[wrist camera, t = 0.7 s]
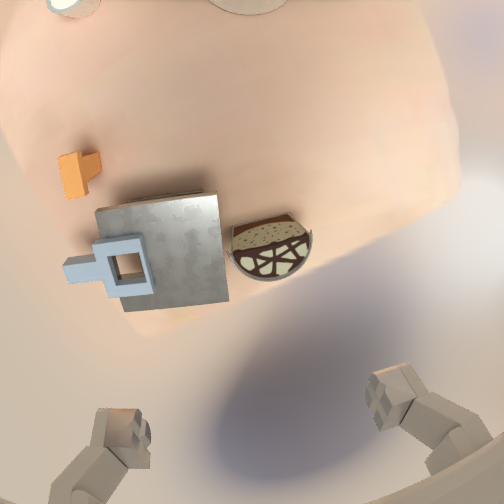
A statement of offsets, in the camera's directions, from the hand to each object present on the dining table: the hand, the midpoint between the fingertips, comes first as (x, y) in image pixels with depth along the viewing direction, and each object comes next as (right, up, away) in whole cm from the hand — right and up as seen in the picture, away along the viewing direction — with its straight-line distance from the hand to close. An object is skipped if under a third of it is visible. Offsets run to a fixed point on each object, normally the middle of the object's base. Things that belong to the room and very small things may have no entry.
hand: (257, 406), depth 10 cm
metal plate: (-13, +9, +40) cm, 43 cm away
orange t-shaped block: (-25, +19, +32) cm, 45 cm away
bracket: (-21, +4, +31) cm, 38 cm away
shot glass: (-26, +43, +20) cm, 54 cm away
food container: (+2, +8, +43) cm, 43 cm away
